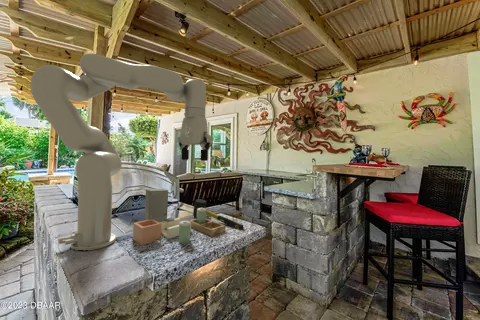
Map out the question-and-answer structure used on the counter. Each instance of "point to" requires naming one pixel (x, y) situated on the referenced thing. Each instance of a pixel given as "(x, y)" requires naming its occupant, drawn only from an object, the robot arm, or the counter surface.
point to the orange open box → (146, 231)
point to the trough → (208, 227)
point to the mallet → (215, 215)
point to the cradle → (172, 230)
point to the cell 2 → (201, 215)
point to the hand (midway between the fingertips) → (194, 160)
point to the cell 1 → (184, 232)
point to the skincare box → (156, 204)
